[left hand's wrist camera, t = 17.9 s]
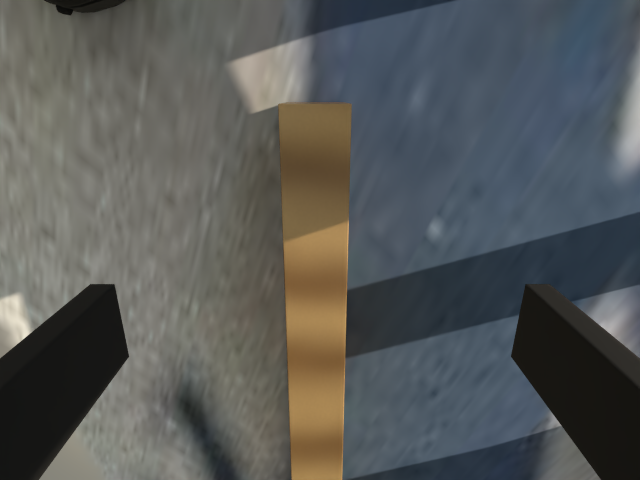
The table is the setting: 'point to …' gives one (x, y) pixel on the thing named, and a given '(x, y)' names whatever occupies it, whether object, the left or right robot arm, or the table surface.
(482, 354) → the table surface
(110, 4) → the headphones
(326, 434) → the plank
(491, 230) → the table surface
